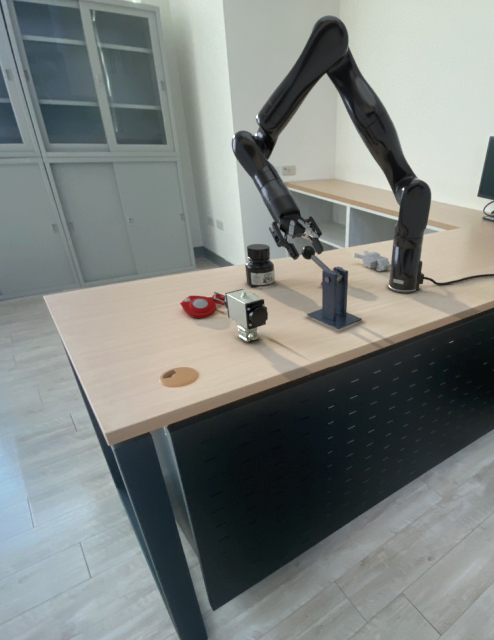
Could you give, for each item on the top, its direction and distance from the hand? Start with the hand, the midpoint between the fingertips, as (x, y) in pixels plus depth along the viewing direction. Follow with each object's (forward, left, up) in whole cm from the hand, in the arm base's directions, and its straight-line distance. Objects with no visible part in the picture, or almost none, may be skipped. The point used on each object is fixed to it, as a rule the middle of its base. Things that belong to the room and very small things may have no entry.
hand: (309, 255), depth 107 cm
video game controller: (-12, -19, -16) cm, 28 cm away
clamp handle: (-2, +3, -3) cm, 5 cm away
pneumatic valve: (+18, +15, -16) cm, 28 cm away
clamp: (-5, +9, -15) cm, 18 cm away
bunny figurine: (-32, -35, -16) cm, 50 cm away
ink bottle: (+11, -23, -16) cm, 30 cm away
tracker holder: (+28, -4, -16) cm, 32 cm away
